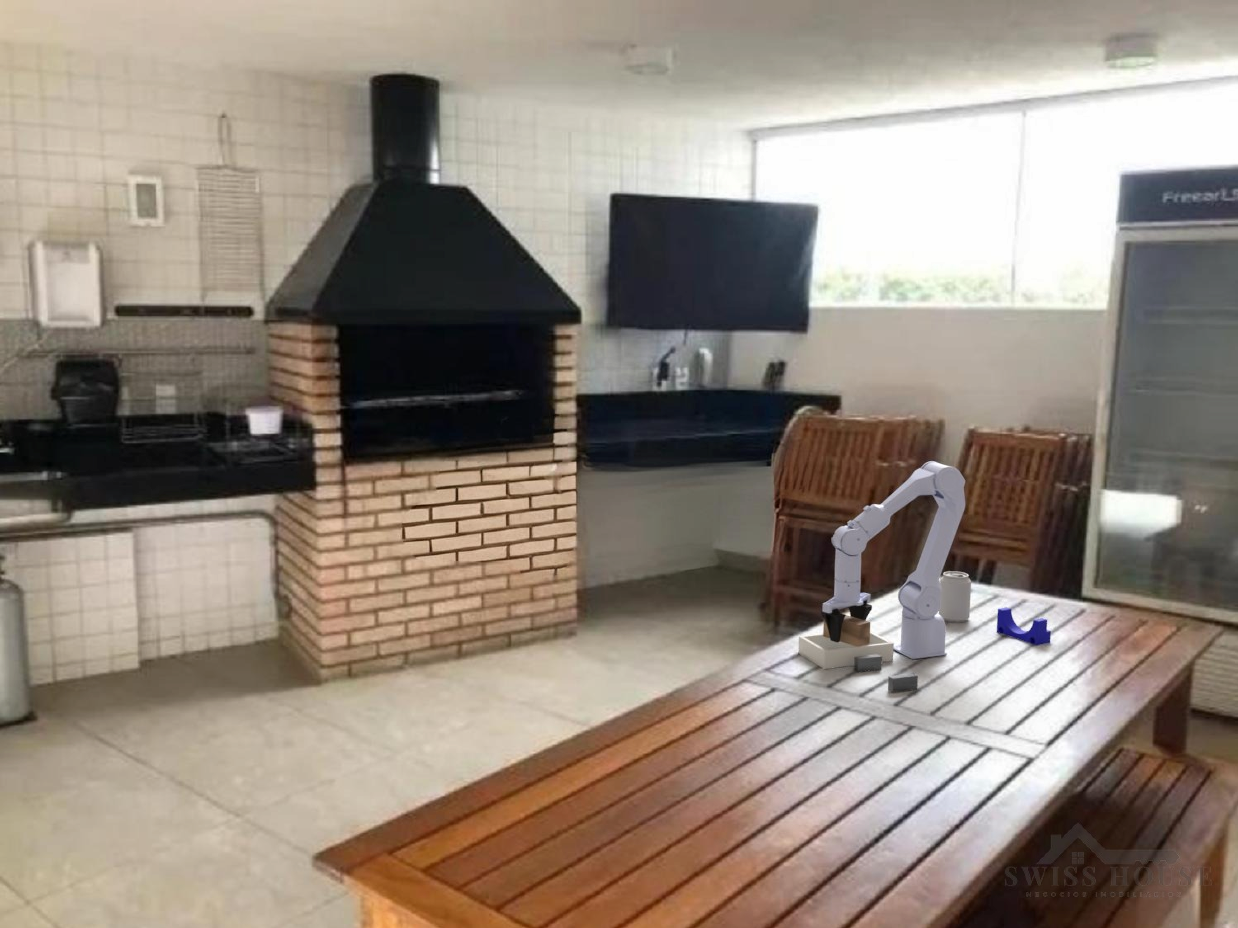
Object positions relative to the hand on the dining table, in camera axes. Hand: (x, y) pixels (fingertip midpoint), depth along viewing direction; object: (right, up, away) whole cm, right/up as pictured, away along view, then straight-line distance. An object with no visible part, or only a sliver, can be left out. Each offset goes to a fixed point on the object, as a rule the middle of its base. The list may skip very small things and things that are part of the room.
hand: (845, 637), depth 238 cm
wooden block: (0, 0, 0) cm, 0 cm away
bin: (0, -4, +1) cm, 4 cm away
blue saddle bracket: (+46, -3, +15) cm, 49 cm away
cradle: (+5, -7, -14) cm, 17 cm away
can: (+34, 0, +30) cm, 46 cm away
